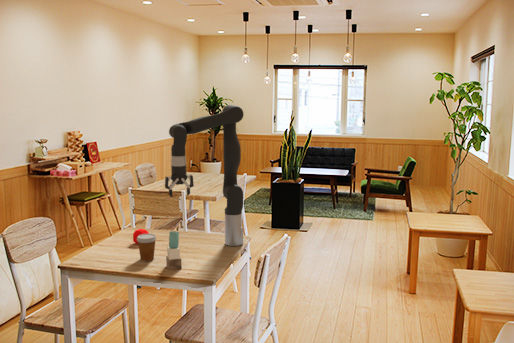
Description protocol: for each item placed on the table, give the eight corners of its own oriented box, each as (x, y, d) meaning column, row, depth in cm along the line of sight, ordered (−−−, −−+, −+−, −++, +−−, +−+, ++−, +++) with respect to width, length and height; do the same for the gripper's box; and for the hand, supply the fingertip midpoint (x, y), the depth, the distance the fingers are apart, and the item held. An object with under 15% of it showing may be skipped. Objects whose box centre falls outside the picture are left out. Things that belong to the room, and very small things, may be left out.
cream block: (177, 255, 244) (177, 245, 243) (179, 258, 239) (179, 248, 239) (167, 256, 242) (167, 246, 242) (169, 259, 238) (168, 249, 237)
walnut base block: (178, 264, 246) (178, 254, 245) (181, 268, 240) (181, 258, 239) (166, 266, 244) (166, 256, 243) (168, 270, 238) (168, 260, 237)
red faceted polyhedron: (151, 242, 279) (151, 229, 278) (141, 246, 273) (140, 233, 271) (141, 240, 284) (140, 227, 282) (130, 244, 277) (130, 230, 276)
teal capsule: (173, 245, 243) (174, 231, 243) (180, 246, 241) (180, 232, 240) (167, 246, 240) (167, 231, 240) (173, 247, 237) (173, 233, 237)
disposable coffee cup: (147, 263, 247) (146, 240, 244) (133, 260, 252) (132, 237, 249) (161, 258, 254) (160, 235, 252) (147, 254, 259) (146, 232, 257)
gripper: (190, 162, 261) (191, 193, 264) (163, 164, 256) (164, 195, 259) (194, 164, 254) (195, 196, 257) (166, 166, 249) (167, 198, 252)
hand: (179, 195), depth 258 cm, fingers open, 8 cm apart
